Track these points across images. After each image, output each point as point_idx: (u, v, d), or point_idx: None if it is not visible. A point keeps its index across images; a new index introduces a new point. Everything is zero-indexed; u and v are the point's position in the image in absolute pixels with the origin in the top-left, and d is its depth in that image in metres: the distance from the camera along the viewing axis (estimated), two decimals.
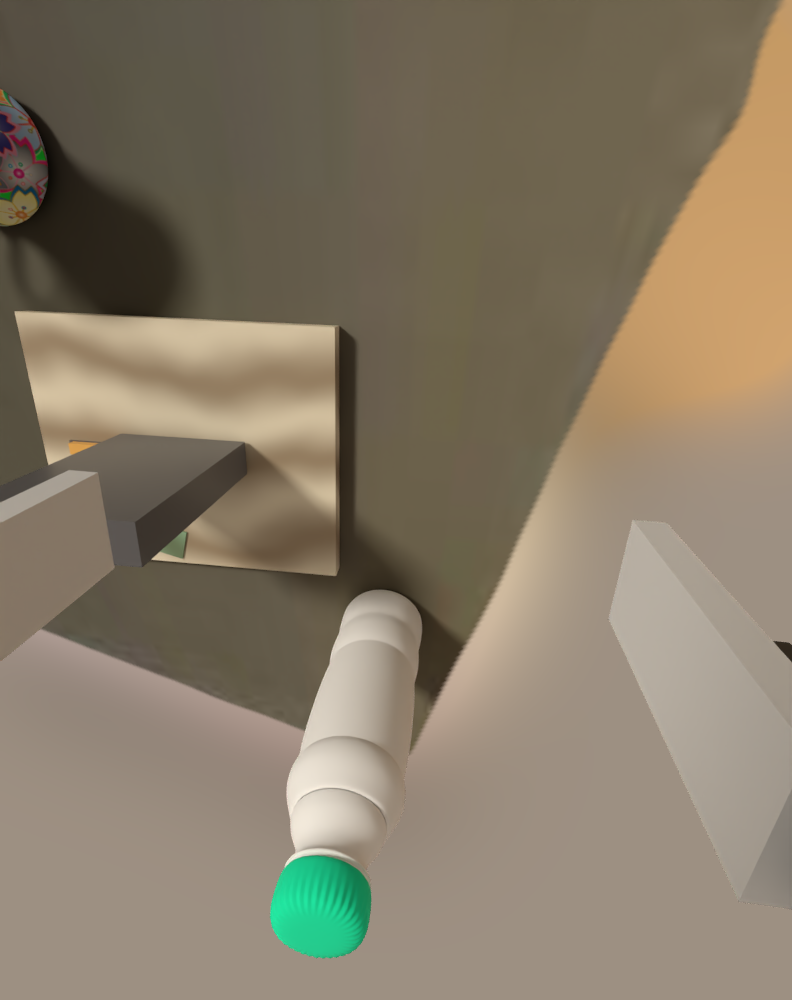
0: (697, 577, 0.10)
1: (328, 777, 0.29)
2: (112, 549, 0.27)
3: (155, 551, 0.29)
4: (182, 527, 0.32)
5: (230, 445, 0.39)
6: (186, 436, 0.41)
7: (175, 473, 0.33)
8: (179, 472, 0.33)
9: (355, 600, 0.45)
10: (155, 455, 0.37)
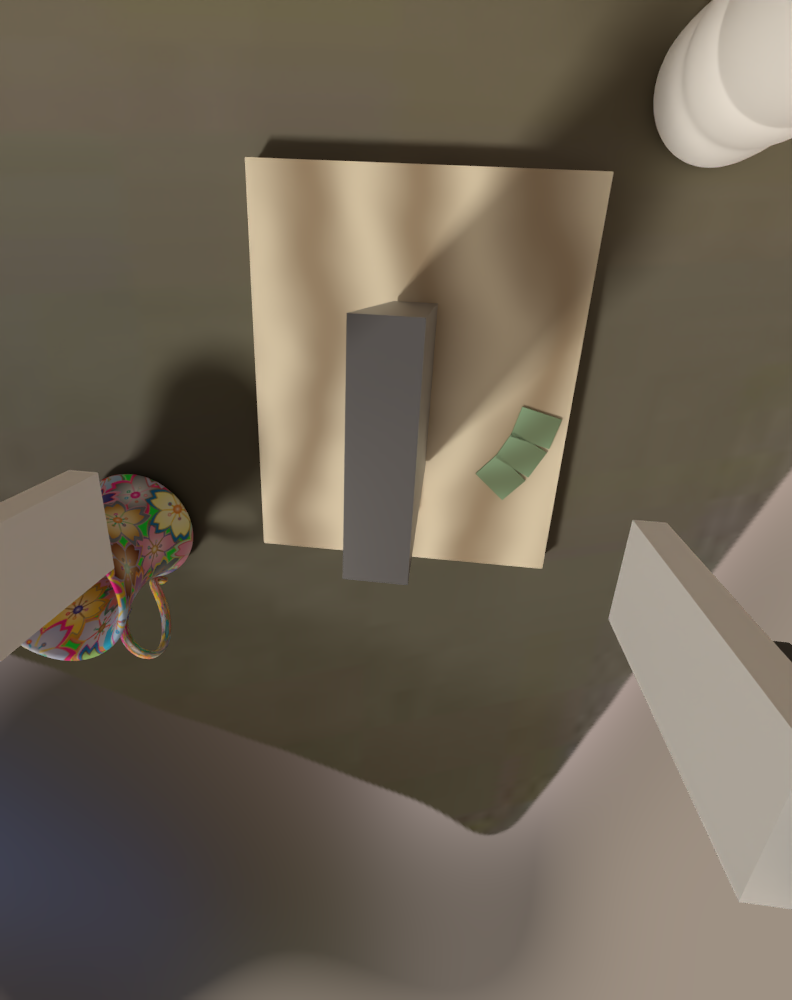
0: (697, 577, 0.10)
1: None
2: (395, 362, 0.18)
3: (421, 314, 0.18)
4: (426, 311, 0.21)
5: None
6: None
7: None
8: None
9: (665, 136, 0.27)
10: None
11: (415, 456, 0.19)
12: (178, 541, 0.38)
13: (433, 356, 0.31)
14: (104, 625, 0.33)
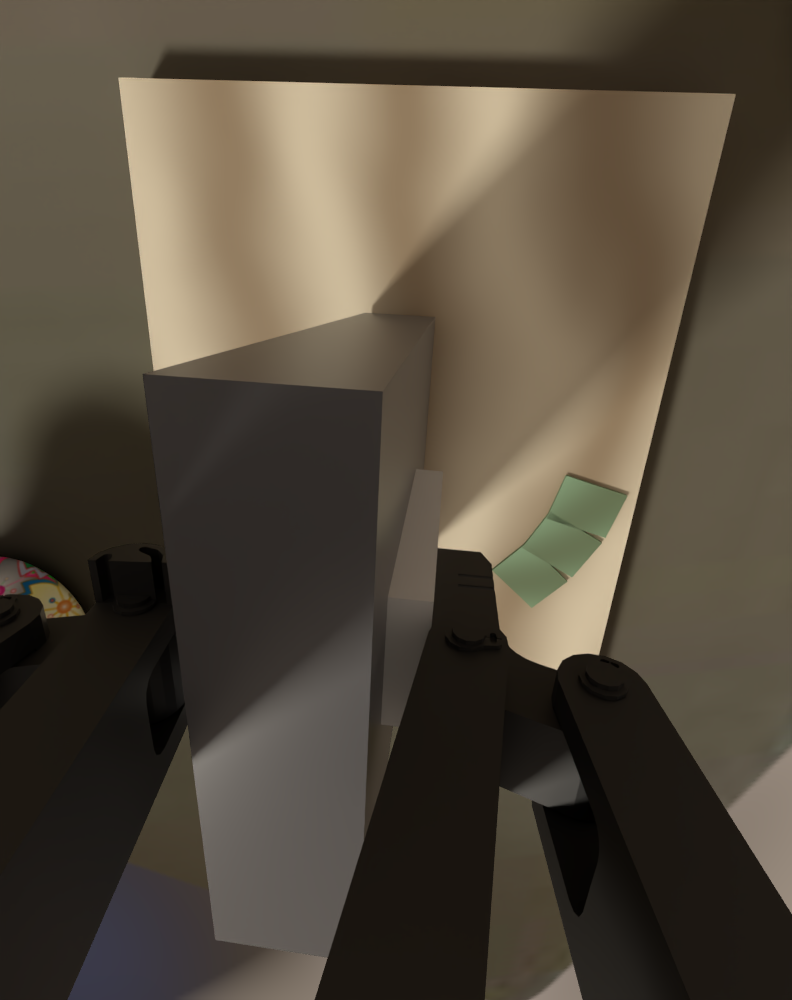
0: (425, 505, 0.12)
1: None
2: (299, 514, 0.06)
3: (380, 370, 0.07)
4: (403, 345, 0.10)
5: None
6: None
7: None
8: None
9: None
10: None
11: (365, 734, 0.07)
12: None
13: (428, 401, 0.20)
14: None
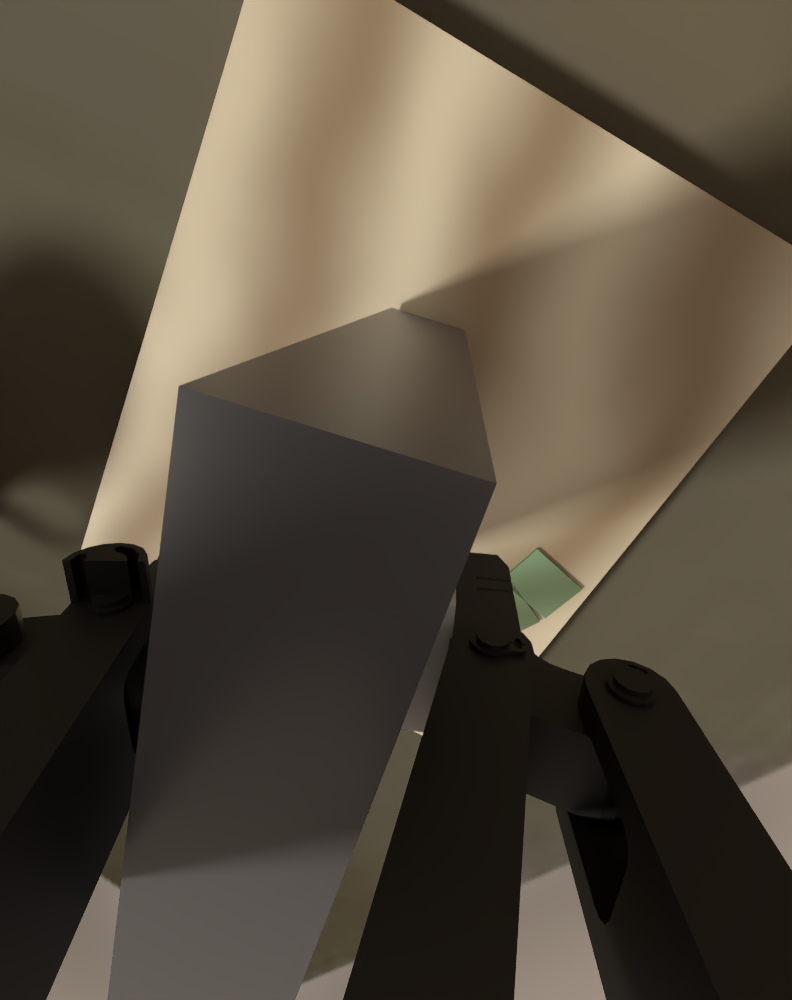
0: None
1: None
2: (342, 600, 0.05)
3: (467, 430, 0.05)
4: (463, 379, 0.08)
5: None
6: None
7: None
8: None
9: None
10: None
11: (349, 852, 0.06)
12: None
13: None
14: None
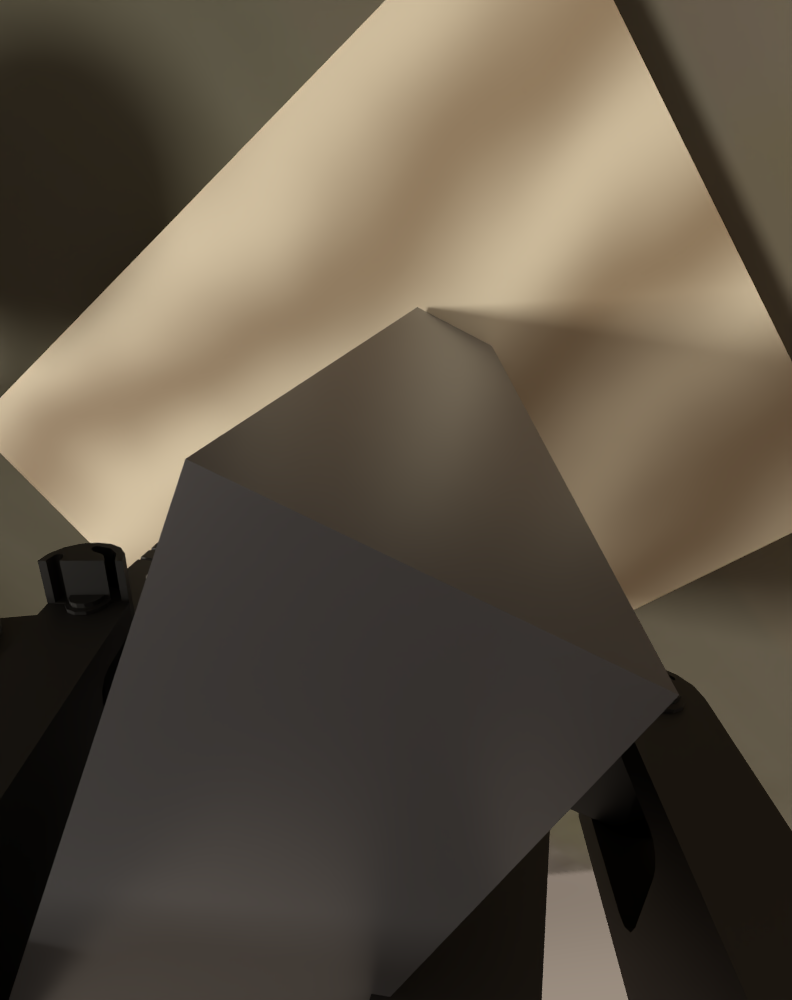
0: None
1: None
2: (383, 799, 0.03)
3: (581, 545, 0.04)
4: (528, 432, 0.07)
5: None
6: None
7: None
8: None
9: None
10: None
11: None
12: None
13: None
14: None
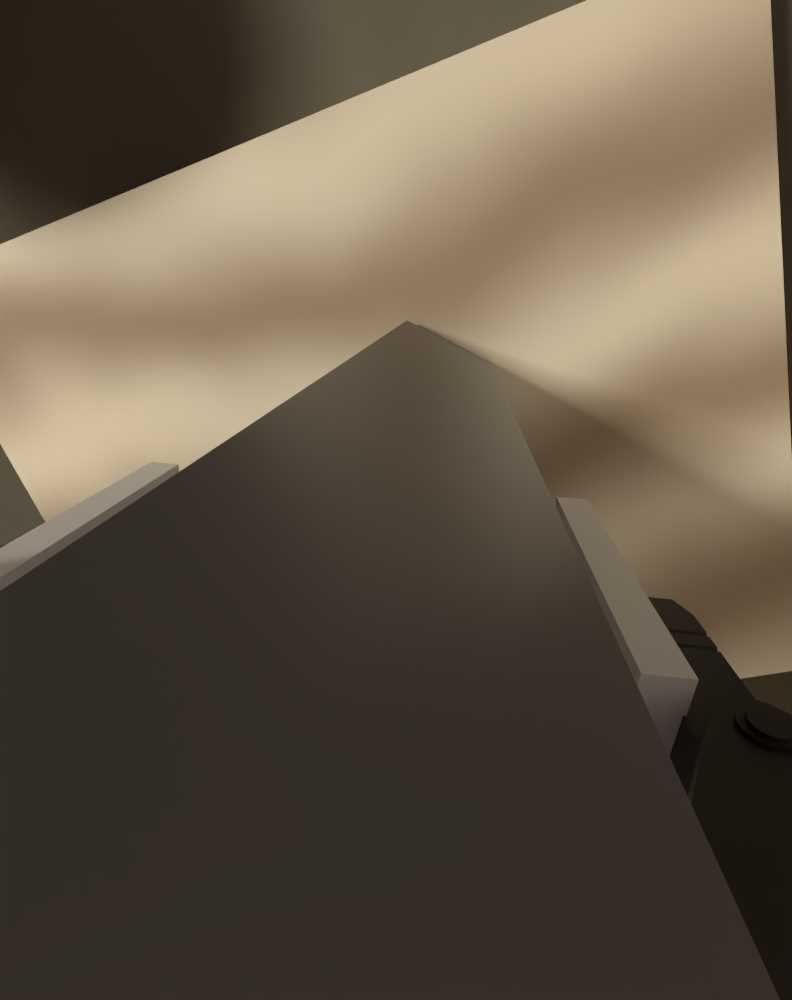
0: (597, 543, 0.11)
1: None
2: None
3: (633, 751, 0.02)
4: (533, 492, 0.05)
5: None
6: None
7: None
8: None
9: None
10: None
11: None
12: None
13: None
14: None
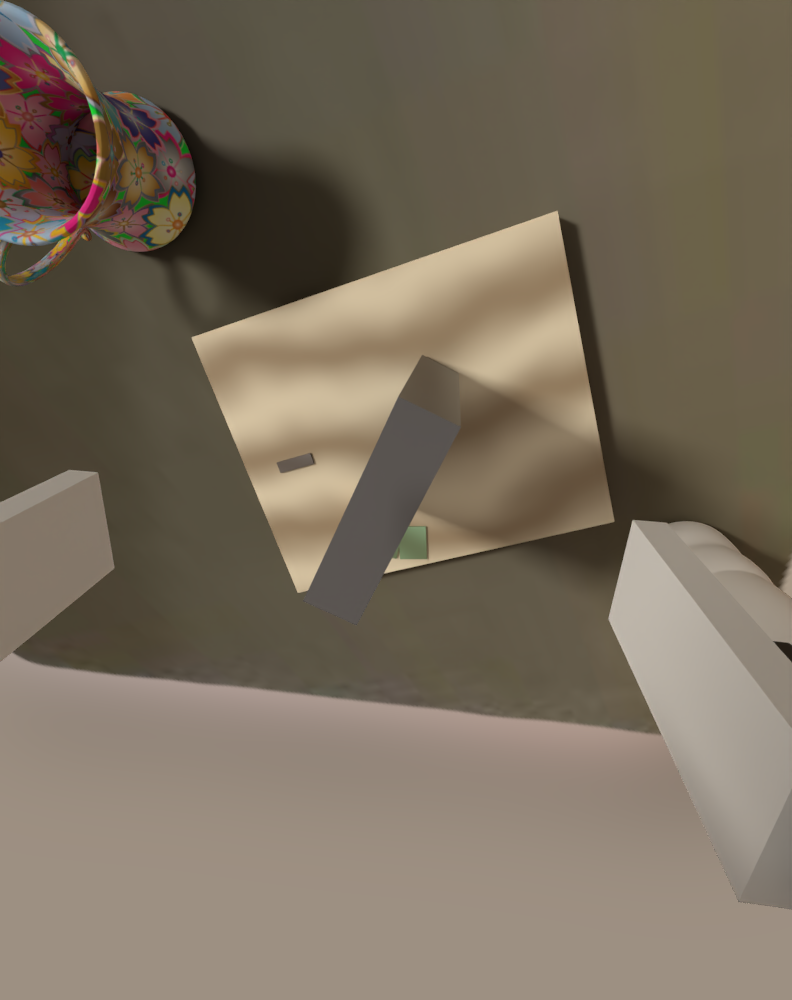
0: (697, 577, 0.10)
1: None
2: (421, 450, 0.20)
3: (455, 416, 0.21)
4: (456, 402, 0.24)
5: None
6: None
7: None
8: None
9: None
10: None
11: (406, 528, 0.21)
12: (141, 239, 0.32)
13: None
14: (2, 204, 0.26)
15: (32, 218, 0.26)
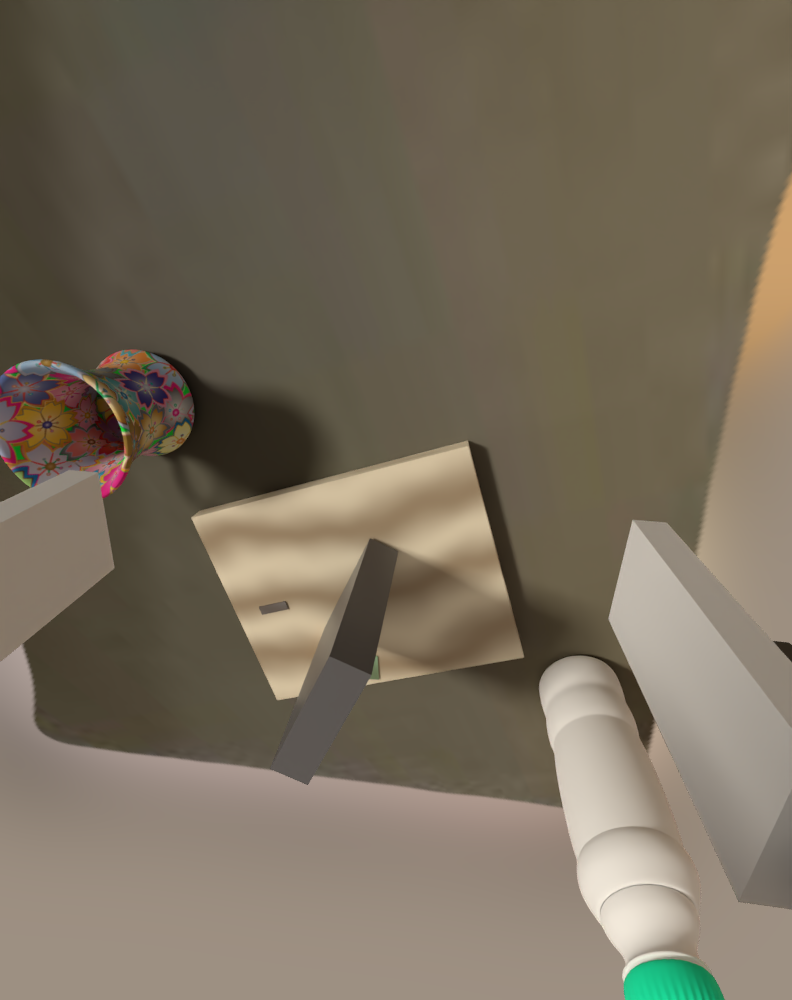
0: (697, 577, 0.10)
1: (626, 876, 0.30)
2: (346, 686, 0.30)
3: (371, 657, 0.31)
4: (379, 625, 0.34)
5: (364, 550, 0.42)
6: None
7: (344, 605, 0.37)
8: (345, 602, 0.37)
9: (548, 673, 0.47)
10: (336, 611, 0.41)
11: (339, 729, 0.31)
12: (153, 453, 0.42)
13: None
14: (53, 466, 0.36)
15: None
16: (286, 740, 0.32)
